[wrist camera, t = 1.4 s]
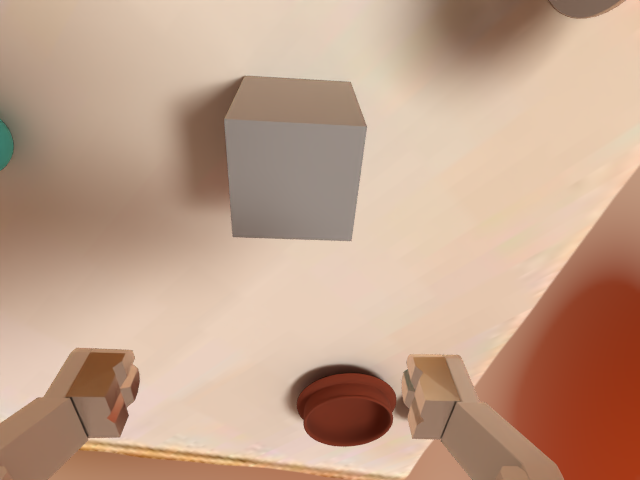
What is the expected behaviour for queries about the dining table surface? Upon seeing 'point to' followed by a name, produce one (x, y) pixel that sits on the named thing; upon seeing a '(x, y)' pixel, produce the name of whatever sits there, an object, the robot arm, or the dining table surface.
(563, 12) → the wine glass
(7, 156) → the ball
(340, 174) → the grey matte cube
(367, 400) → the pottery
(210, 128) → the dining table surface
